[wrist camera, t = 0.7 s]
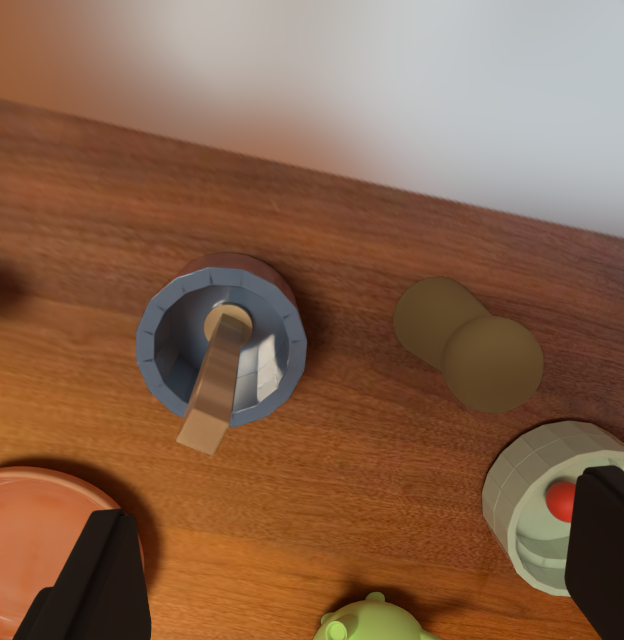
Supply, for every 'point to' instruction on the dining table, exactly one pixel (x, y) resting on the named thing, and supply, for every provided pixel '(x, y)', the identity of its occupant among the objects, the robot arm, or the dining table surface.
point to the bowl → (542, 495)
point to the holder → (191, 343)
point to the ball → (561, 500)
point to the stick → (216, 378)
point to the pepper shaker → (469, 345)
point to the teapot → (371, 622)
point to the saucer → (39, 533)
